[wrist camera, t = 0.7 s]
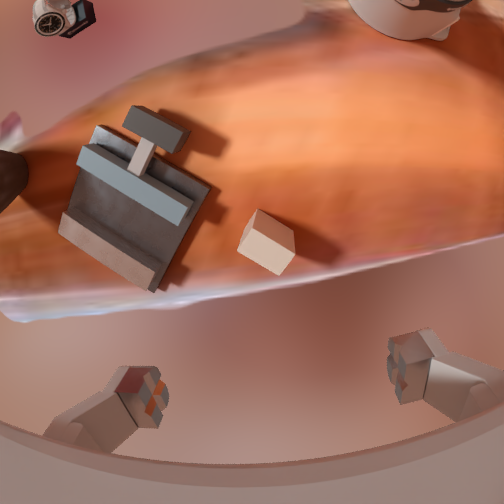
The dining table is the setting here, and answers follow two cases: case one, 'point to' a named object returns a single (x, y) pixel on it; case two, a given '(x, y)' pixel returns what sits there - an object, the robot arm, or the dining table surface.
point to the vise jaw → (142, 164)
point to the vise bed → (128, 217)
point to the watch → (62, 17)
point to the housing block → (267, 242)
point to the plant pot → (11, 177)
